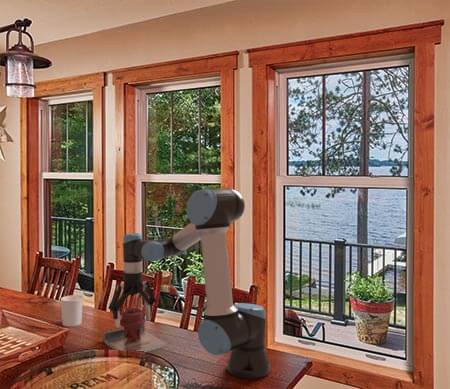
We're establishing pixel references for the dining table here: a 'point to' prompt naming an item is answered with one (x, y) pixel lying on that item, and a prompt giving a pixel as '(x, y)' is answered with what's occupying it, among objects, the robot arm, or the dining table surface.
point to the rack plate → (120, 342)
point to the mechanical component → (132, 323)
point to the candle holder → (71, 310)
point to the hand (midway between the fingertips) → (133, 323)
